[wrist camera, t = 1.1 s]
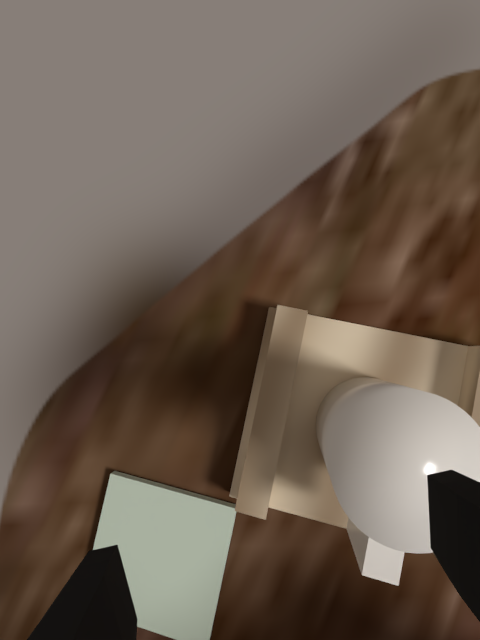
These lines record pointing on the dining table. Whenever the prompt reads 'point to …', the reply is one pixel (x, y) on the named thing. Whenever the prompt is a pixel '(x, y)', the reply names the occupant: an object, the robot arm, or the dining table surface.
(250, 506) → the cradle
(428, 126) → the dining table surface
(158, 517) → the mat
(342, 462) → the white domed cylinder
